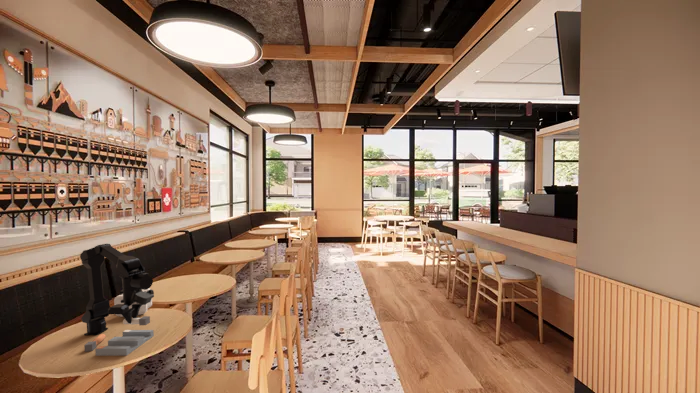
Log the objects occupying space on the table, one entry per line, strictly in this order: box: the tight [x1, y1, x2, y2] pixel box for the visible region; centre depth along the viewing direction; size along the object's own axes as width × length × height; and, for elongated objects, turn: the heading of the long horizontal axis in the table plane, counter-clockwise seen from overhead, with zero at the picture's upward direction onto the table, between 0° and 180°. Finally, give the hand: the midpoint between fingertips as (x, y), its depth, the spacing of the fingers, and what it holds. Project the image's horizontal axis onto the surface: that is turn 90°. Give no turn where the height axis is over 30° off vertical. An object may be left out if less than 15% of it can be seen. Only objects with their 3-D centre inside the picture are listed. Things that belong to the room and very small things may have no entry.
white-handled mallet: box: [122, 315, 151, 326], centre depth 135 cm, size 10×3×3 cm, turn 88°
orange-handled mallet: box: [83, 333, 107, 352], centre depth 132 cm, size 10×3×3 cm, turn 13°
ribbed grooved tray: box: [94, 329, 154, 357], centre depth 131 cm, size 13×16×3 cm
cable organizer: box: [113, 288, 153, 318], centre depth 166 cm, size 15×11×12 cm
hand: (132, 321), depth 135 cm, fingers closed on white-handled mallet, 3 cm apart
